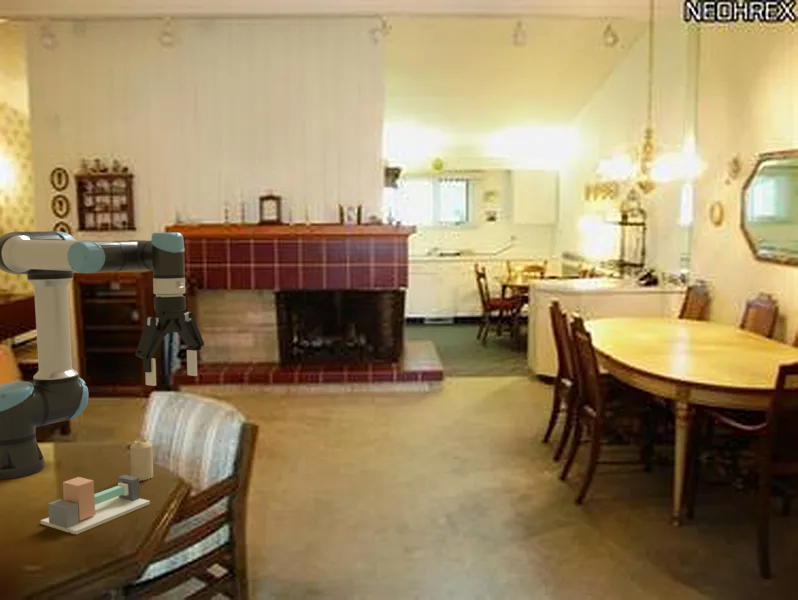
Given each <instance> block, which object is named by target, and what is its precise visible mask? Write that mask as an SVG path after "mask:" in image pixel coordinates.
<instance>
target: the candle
mask: <svg viewBox="0 0 798 600" xmlns="http://www.w3.org/2000/svg"><path fill="white" fill-rule="evenodd" d="M129 456H130V457H129V458H130V476H133V477H137V478H139V482H140V481H141V482H143V481H147V479H148V480H150V478H151V479H152V478H153V477H154V460H153V444H152V443H151V442H150V441H149V440H147V439H145V438H142V439H141V438H140V439H138V440H134V441H133V443H131V445H130V446H129ZM142 480H143V481H142Z"/></svg>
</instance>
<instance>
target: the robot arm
mask: <svg viewBox="0 0 798 600" xmlns="http://www.w3.org/2000/svg"><path fill="white" fill-rule="evenodd" d="M185 251H186V248H185V241H184V236H183V234H182V233H181V232H153V233H152V234H151V240H141V239H140V240H139V239H129V240H76V239H74V236H72V235H71V234H70V233H67V232H63V231H56V230H55V231H54V230H51V231H12V232H7V233H4V234H2V235H0V270H1V271H3V272H5V273H7V274H13V275H26V276H27V281H28V282H29V283H30V284H31V285H32V286H33V291H34V292H33V294H34V309H35V325H36V326H35V327H36V329H35V330H36V343H37V360H38V361H37V362H38V370H37V372H36V373H35V374H34V375H33V377H32V378H33V379H32V380H33V383H32V382H30V381H24V380H23V381H22V380H21V381H15V382H8V383H4V384H0V480H10V479H16V478H23V477H25V476H30V475H34V474H35V473H38V472H40V471H42V470H43V469H44V468H45V457H44V456H43V452H42V451H41V449H40V446H39V443H38V442H37V436H36V428H38V427H42V426H47V425H51V424H55V423H59V422H67V421H70V420H71V419H74V418H77V417H79V416H81V415H83V412H84V411H85V410H86V408H87V406H88V402H89V389H88V386H87V385H86V382H85V380H84V379H83V378H81V377H79V372H78V371H77V370H76V369H74V368H73V361H72V345H71V344H72V341H71V325H70V324H71V323H70V321H71V320H70V306H69V305H70V304H69V303H70V302H69V283H71V282H72V281H73V279H74V273H77V274H95V273H109V272H114V273H115V272H130V271H131V272H133V271H152V282H153V283H152V287H153V288H152V289H153V290H152V291H153V292H152V293H153V295H155V296H154V297H153V309H154V311H155V313H156V315H155V317H153V316H146V317H145V319H144V328H143V331H142V333H141V337H140V340H139V342H138V345H137V347H136V348H137V349H136V352H135V357H137V358H140V359H142V361H143V362H142V366H143V367H142V369H143V372H144V373H145V385H146V386H152V387H155V386H157V365H156V358H154V357H155V354H156V352H157V350H158V348H159V347H160V345H161V343H162V342H163V339H164V337H166V336H167V335H168V334H172V333H177V334H178V335H179V337H180V338H181V339H182V341H183V342H184V343H185V345H186V346H187V348H188V349H187V350H186V371H187V372H186V374H187V376H193V377H197V376H198V362H199V351H201V350H202V347H204V346H205V342H204V339H203V336H202V335H201V333H200V329H199V328H198V325H197V322H196V319H195V313H194V312H193V311H192V312H191V311H186V309H187V305H186V304H187V299H186V296H185V295H183V294H186V271H185V270H186V267H185Z"/></svg>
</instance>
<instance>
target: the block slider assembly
mask: <svg viewBox="0 0 798 600" xmlns="http://www.w3.org/2000/svg"><path fill="white" fill-rule="evenodd" d="M140 490H141V489H140V481H139V478H137V477H133V476H131V475H128V474H123V475H120V476H117V485H115V486H112V487H110V488H107V489H105V490H102V491H100V492H96V493H94V496H95V515H94V516H91V517H89V518H86V519H83V520H81V521H79V514H78V504H76V503H74V502H69V501H66V500H64V499H61V498H59V499H57V500H54V501H51V502H48V503H47V506H48V508H47V509H48V517H46V518H42V519H40V525H44V526H47V527H50V528H53V529H55V530H60V531H63V532H66V533H69V532H70V533H69V534H73V535H75V534H76V535H79V534H81V533H84V532H86V531H88V530H91V529H93V528H96V527H98V526H101V525H103V524H105V523H108V522H111V521H113V520H115V519H118V518H119V517H122V516H125V515H127V514H129V513H132V512H134V511H137V510H140V509H141V508H144V507H146V506H149V505H150V504H151V500H148V499H144V498H141V496H140V495H141V494H140V493H141V491H140Z"/></svg>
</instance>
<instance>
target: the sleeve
mask: <svg viewBox="0 0 798 600" xmlns="http://www.w3.org/2000/svg"><path fill="white" fill-rule="evenodd" d="M62 488H63V489H62V490H63V492H62V493H63V500H66V501H69V502H74V503H76V504H78V514H79V521H81V520H83V519H86V518H89V517H91V516H94V515H95V496H94V494H95V480H93V479H90V478H84V477H81V476H77V477H73V478H71V479H68V480H65V481H63V482H62Z"/></svg>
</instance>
